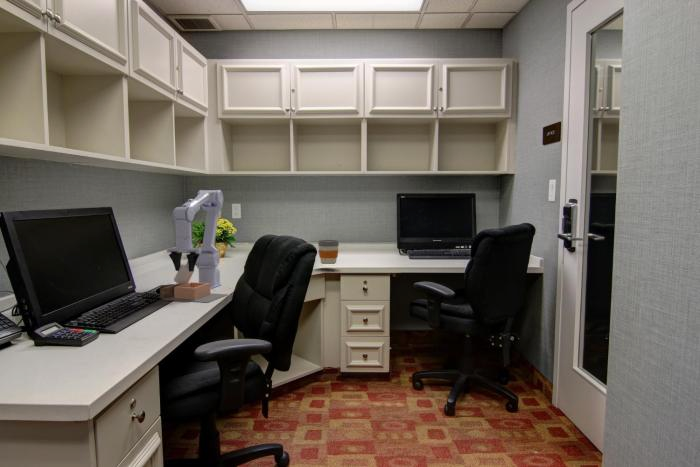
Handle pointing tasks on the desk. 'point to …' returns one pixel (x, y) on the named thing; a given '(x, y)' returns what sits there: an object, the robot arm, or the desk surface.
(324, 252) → the reusable coffee cup
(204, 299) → the mat
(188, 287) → the socket block
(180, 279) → the eye dropper bottle
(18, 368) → the desk surface
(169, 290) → the end wall
